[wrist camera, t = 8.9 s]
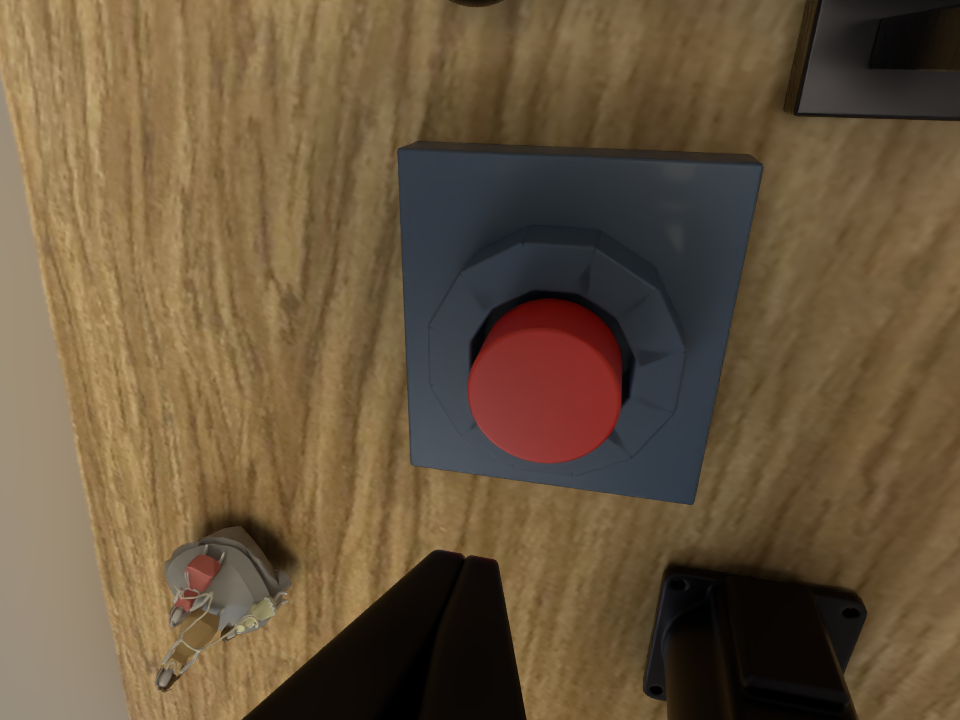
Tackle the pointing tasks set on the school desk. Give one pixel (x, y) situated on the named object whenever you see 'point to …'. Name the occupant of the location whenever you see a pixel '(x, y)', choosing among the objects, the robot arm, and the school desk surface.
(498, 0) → the lever handle
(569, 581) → the school desk surface
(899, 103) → the lever bracket
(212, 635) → the figurine
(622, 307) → the button block
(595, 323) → the red button
